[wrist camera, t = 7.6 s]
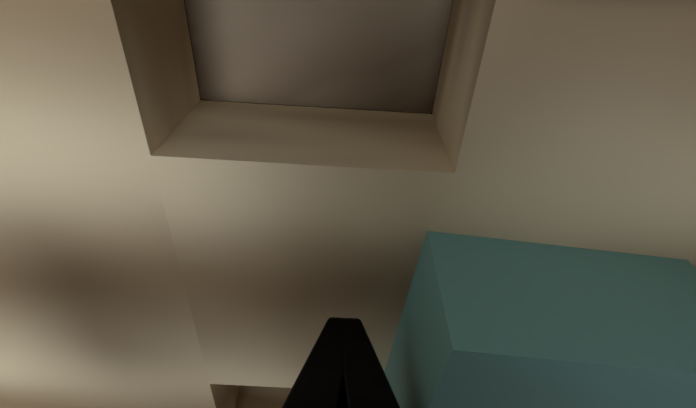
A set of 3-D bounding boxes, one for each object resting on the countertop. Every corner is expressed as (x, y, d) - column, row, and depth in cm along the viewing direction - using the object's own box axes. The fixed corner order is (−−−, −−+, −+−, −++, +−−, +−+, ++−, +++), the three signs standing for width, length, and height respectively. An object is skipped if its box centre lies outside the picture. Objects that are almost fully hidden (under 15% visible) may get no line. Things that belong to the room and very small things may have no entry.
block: (570, 400, 13) (622, 516, 10) (381, 382, 12) (386, 499, 10) (687, 260, 9) (807, 384, 7) (427, 230, 9) (453, 349, 6)
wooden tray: (560, 399, 18) (627, 559, 13) (65, 374, 18) (-36, 527, 13) (896, -110, 8) (1671, -156, 3) (-279, -188, 7) (-1274, -361, 3)
